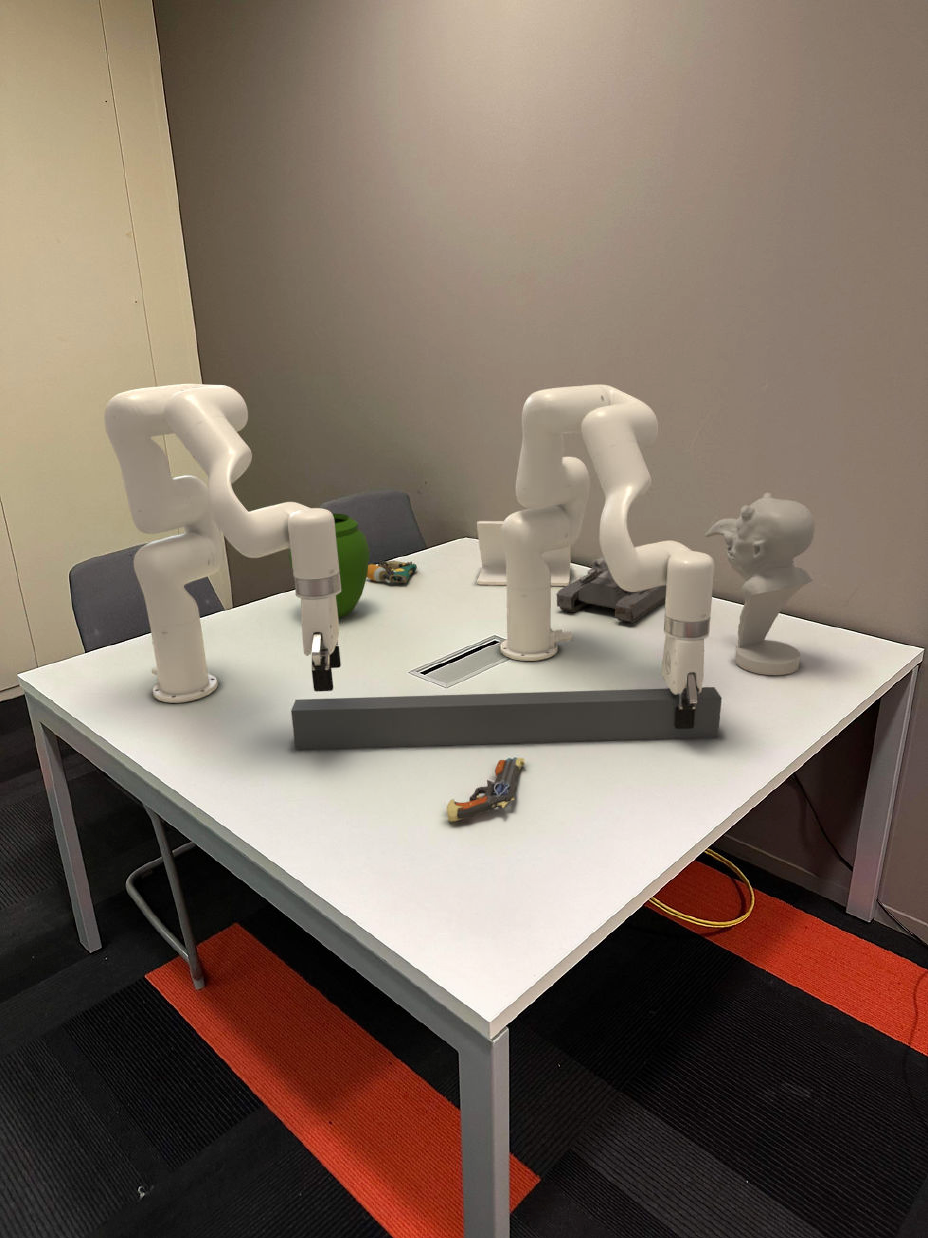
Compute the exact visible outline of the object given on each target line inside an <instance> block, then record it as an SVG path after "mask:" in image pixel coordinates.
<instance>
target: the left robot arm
mask: <svg viewBox="0 0 928 1238" xmlns="http://www.w3.org/2000/svg"><path fill="white" fill-rule="evenodd" d="M248 420H249V411H248V406H247V403H246V401H245V399H244V398H243V396H242V395H241V394H240V393H239V392H238V391H237V390H236V389H234V388H232V387H231V386H227V385H222V384H201V383H181V384H171V385H163V386H161V385H160V386H150V387H143V388H136V389H130V390H126V391H123V392H120V393H118V394H115V395H114V396H113V397H111V398H110V400H108V402H107V403H106V407H105V409H104V427H105V431H106V435H107V438H108V440H109V442H110V445H111V447H112V449H113V451H114V453H115V456H116V457H117V460H118V463H119V466H120V471H121V476H122V480H123V485H124V489H125V493H126V497H127V502H128V507H129V511H130V515H131V519H132V521H133V524H134V526H135V527H136V528H137V530H138V531H140V532H141V533H143V534H145V535H146V534H147V535H154V534H162V533H166V532H169V531H174V530H177V529H181V528H183V530H184V532H182V533H181V534H176V535H171V536H168V537H163V538H160V539H157V540H154V541H151V542H148V543H146V544H144V545H143V546H141V547H140V548H139V549H138V550H137V552H136V553H135V554H134V557H133V569H134V572H135V576H136V578H137V581H138V584H139V586H140V588H141V591H142V595H143V599H144V603H145V607H146V613H147V617H148V618H147V619H148V623H149V629H150V634H151V641H152V646H153V652H154V657H155V658H154V659H155V665H156V667H153V668H151V670H150V671H151V674H152V675H155V676H156V677H157V678H156V679H157V682H156V683H155V685H153V686H152V687H153V688H152V695H153V697H154V699H156V700H158V701H161V702H164V703H171V704H172V703H174V704H176V703H178V704H179V703H187V702H188V703H189V702H192V701H196V700H199V699H202V698H205V697H207V696H209V695H211V694H212V693H214V692H215V690H216V689H217V688H218V679H217V677H216V676H215V675H214V674H210V673H209V671H208V665H207V657H206V651H205V644H204V637H203V631H202V623H201V617H200V610H199V606H198V603H197V601H196V599H195V598H194V597H193V596H192V595H191V594H190V593H189V592H188V591H187V589H186V588H185V585H187V584H190V583H191V582H192V583H193V582H194V581H197V580H201V579H204V578H207V577H209V576H212V575H214V574H216V573H218V572H219V571H221V569H222V566H223V564H224V559H225V558H224V547H223V541H222V536H221V534H222V535H223V536H224V537H225V539H226V540H227V541H228V543H229V544H230V545H231V546H232V547H233V548H234V549H235V550H236V551H238V553H240V555H243V556H244V557H247V558H250V559H258V558H262V557H266V556H269V555H272V554H275V553H279V552H281V551H285V550H290V549H291V557H292V566H293V571H292V575H293V583H294V591H295V596H296V597H297V598H299V599H300V621H301V634H302V648H303V649H302V650H303V655H304V656H306V657H307V656H310V655H311V677H312V685H313V687H312V688H313V692H318V693H319V692H333V690H334V680H333V671H332V669H339V668H341V665H342V663H341V653H340V645H339V636H340V622H339V618H338V611H337V602H336V595H337V594H339V593H340V592H341V582H340V572H339V562H338V551H337V541H336V531H335V521H334V517H333V514H332V513H333V512H331V511H330V510H329V509H325V508H321V507H312V508H311V507H308V506H306V505H304V504H302V503H299V502H295V501H285V502H282V503H278V504H273V505H269V506H265V507H261V508H258V509H255V510H249V511H248V510H247V508H246V507H245V506H244V505H243V504H242V502H241V501H240V499H239V498H238V497H237V495H236V494H235V492H234V490H233V487H232V484H234V483H235V482H236V481H237V480H238V479H239V478H240V477H241V476H242V475H243V474H244V473H245V472H246V471H247V470H248V468H249V467H250V465H251V463H252V458H253V453H252V450H251V448H250V447H249V446H248V444H247V443H246V442H245V441H244V439H243V438H242V437H241V436H240V435H239V433H238V432H240V431H242V430H243V429H244V428H245V427H246V425H247V423H248ZM172 434H174V435H175V436H176V437H177V438H178V440H179V441H180V442H181V444H182V445H183V446H184V448H185V449H186V450H187V451H188V453H189V454H190V455H191V456H192V457H193V459H194V460H195V462H196V463H197V464H198V465H199V467H200V468H201V469H202V470H203V472H204V473H205V474H206V476H207V477H208V486H207V484H206V483H205V482H204V481H203V480H202V479H201V478H199V477H198V476H194V475H181V476H175V477H173V476H172V472H171V469H170V463H169V459H168V456H167V454H166V453H165V451H164V450H163V449H162V446H161V445H159V444H158V442H157V441H155V439H153V437H159V436H164V435H172Z"/></svg>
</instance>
